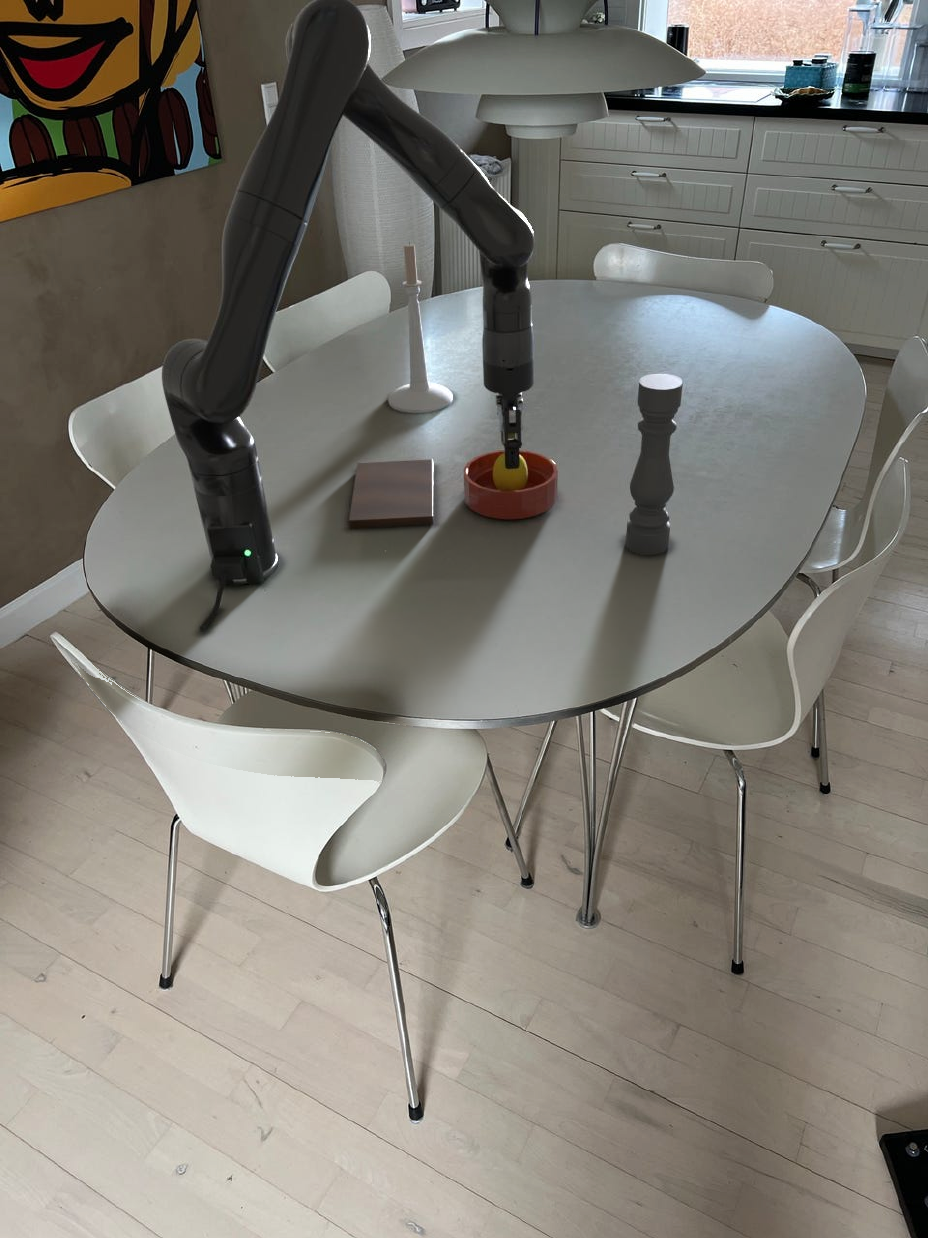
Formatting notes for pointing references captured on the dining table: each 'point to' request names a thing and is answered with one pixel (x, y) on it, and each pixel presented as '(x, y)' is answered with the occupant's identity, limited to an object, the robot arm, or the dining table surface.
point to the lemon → (509, 475)
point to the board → (392, 494)
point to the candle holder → (653, 464)
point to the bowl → (510, 503)
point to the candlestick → (417, 355)
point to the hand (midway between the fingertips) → (510, 455)
